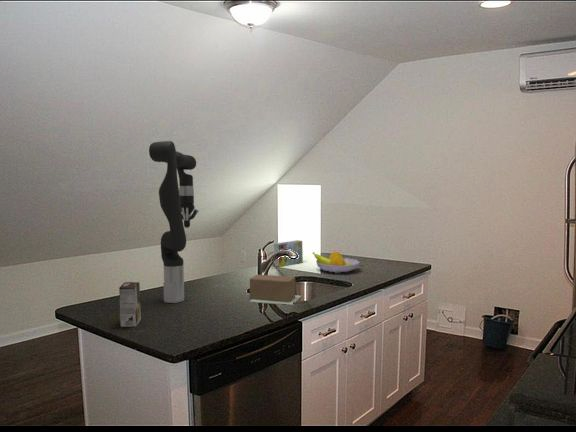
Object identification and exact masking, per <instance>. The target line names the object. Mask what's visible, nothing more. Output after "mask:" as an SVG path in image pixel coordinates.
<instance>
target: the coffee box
mask: <svg viewBox="0 0 576 432" xmlns="http://www.w3.org/2000/svg"><path fill="white" fill-rule="evenodd" d="M140 287H141V285H140V281H138V282H136V281H135V282H134V281H128V282H127V281H125V282H123V283H122V284H121V285H120V286H119V287H118V288H119V290H118V291H119V315H120V316H119V319H120V322H119V323H120V327H121V328H126V327H127V328H128V327H132V328H133V327H137V326H138V325H139V323H140V321H141V319H142V315H141V314H142V313H141V311H142V310H141V289H140Z"/></svg>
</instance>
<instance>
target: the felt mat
mask: <svg viewBox="0 0 576 432" xmlns="http://www.w3.org/2000/svg"><path fill="white" fill-rule="evenodd" d="M301 296H302V295H298V294H297V295H296V294H295V297H294V298H293V299H292V300H291V301H290V302H282V301H270V300H258V299H250V300H249V301H248V302H249V303H259V304H271V305H272V304H273V305H282V304H286V305H285V306H293V305H294V304H293V302H295V303H296V302H297V301H298V300H299V299H300V298H301Z"/></svg>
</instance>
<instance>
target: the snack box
mask: <svg viewBox="0 0 576 432" xmlns="http://www.w3.org/2000/svg"><path fill="white" fill-rule="evenodd" d="M283 249H291V250H293V251H295V252H297V253H298V255H299V258H298V259H289V258H288V257H286V256H284V257H280V258H279V259H277V260H276V261H275V263H273V266H274V267H277V268H282V267H288V266H292V265H298V264H303V261H304V259H303V258H304V257H303V255H304V254H303V240H297V239H296V240H290V241H282V242H278V243H277V242H276V243H273V254H274V253H275V252H277V251H280V250H283Z"/></svg>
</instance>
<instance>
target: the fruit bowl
mask: <svg viewBox="0 0 576 432" xmlns="http://www.w3.org/2000/svg"><path fill="white" fill-rule="evenodd" d="M312 255H313V256H314V257H315V259H316V260H315V262H316V265H317V267H318V268H319V269H321V270H323V271H325V272H327V271H329V273H332V272H335V273H334V274H342V273H341V272H345V273H349V271H350V272H351V271H354V270H356V268H357V267H358V266H359V264H360V261H359V260H357V259H352V258H347V257H346V258H344V257H343V255H342V254H341V253H340V252H339V251H333V252H331V254H330V255H329V256H328V257H325V256H322V255H321V254H317V253H315V252H314V251H313V252H312Z"/></svg>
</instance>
